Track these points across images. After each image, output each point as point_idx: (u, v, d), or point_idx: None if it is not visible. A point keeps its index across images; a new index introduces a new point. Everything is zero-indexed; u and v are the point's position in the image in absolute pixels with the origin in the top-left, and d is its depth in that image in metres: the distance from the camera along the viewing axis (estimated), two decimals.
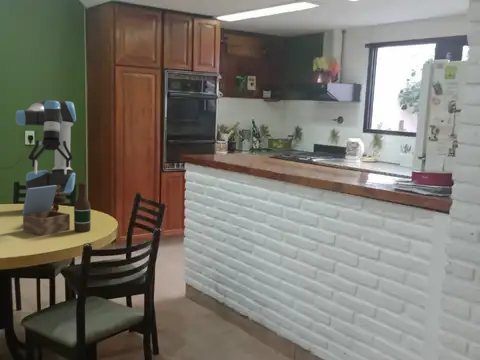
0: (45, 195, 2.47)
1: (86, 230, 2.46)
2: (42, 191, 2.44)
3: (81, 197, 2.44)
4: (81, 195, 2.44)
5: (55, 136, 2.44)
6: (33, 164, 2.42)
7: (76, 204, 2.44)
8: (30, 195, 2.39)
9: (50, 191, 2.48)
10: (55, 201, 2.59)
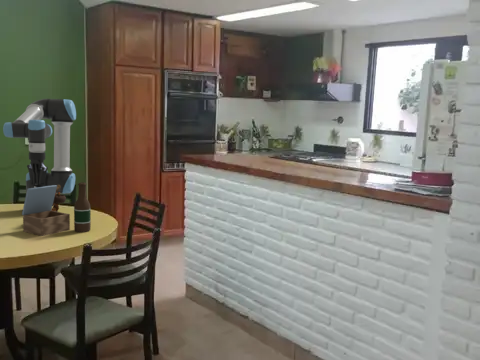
0: (45, 195, 2.47)
1: (86, 230, 2.46)
2: (42, 191, 2.44)
3: (81, 197, 2.44)
4: (81, 195, 2.44)
5: (34, 158, 2.40)
6: None
7: (76, 204, 2.44)
8: (30, 195, 2.39)
9: (50, 191, 2.48)
10: (55, 201, 2.59)
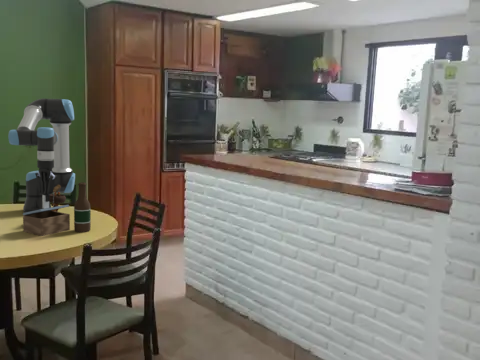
0: (53, 209, 2.45)
1: (86, 230, 2.46)
2: (51, 209, 2.41)
3: (81, 197, 2.44)
4: (81, 195, 2.44)
5: (43, 167, 2.37)
6: (42, 198, 2.43)
7: (76, 204, 2.44)
8: None
9: None
10: (55, 201, 2.59)
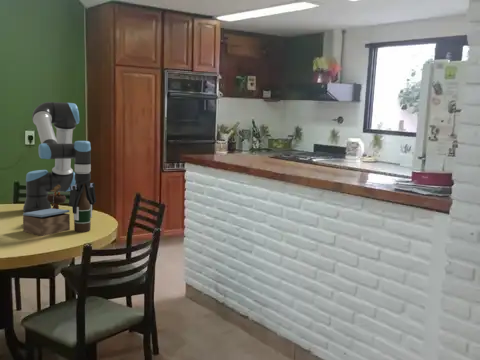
0: None
1: (86, 230, 2.46)
2: None
3: (81, 197, 2.44)
4: (81, 195, 2.44)
5: None
6: None
7: None
8: None
9: None
10: (55, 201, 2.59)
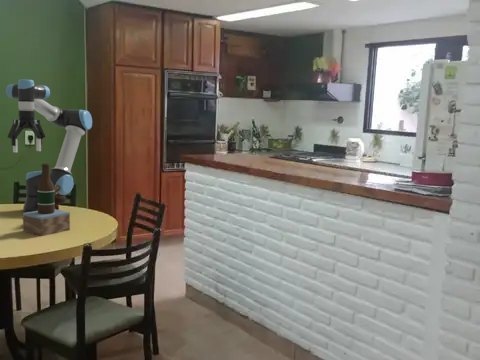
0: None
1: (50, 212, 2.42)
2: None
3: (44, 178, 2.40)
4: (44, 176, 2.40)
5: None
6: None
7: (39, 186, 2.40)
8: None
9: None
10: (55, 201, 2.59)
